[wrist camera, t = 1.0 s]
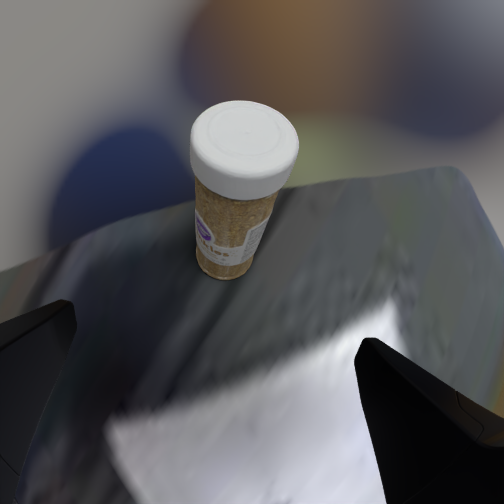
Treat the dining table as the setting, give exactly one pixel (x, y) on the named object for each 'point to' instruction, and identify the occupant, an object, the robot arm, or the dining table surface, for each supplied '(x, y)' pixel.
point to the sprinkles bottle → (237, 181)
